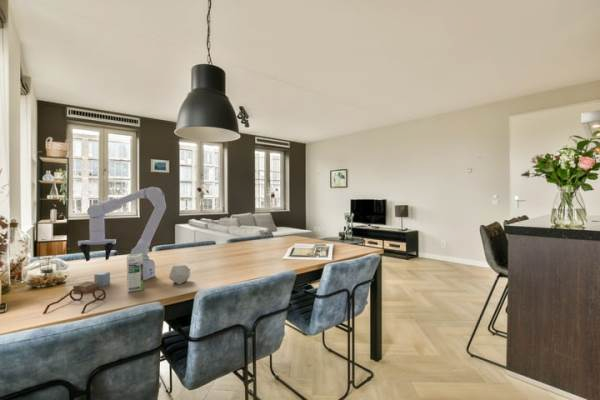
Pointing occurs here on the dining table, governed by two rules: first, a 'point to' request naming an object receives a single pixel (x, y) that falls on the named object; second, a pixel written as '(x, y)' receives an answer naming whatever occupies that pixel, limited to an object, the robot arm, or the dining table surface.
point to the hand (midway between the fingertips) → (97, 260)
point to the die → (179, 273)
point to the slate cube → (102, 278)
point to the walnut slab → (86, 286)
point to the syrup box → (134, 272)
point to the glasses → (80, 298)
